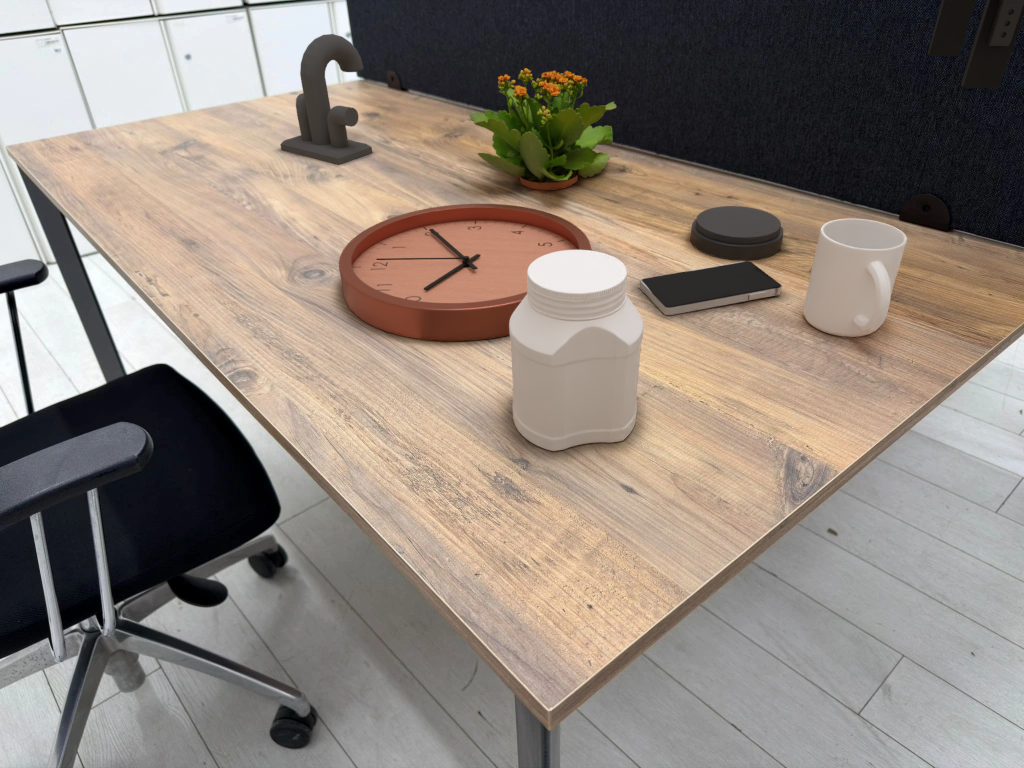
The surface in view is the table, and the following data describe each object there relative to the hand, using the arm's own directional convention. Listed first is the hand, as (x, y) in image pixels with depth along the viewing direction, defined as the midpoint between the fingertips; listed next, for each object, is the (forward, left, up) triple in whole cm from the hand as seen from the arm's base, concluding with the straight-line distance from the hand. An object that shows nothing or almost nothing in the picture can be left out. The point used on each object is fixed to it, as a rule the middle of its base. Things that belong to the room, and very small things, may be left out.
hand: (959, 70), depth 66 cm
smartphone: (+19, -6, -26) cm, 33 cm away
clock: (+49, -8, -26) cm, 56 cm away
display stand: (+14, -21, -26) cm, 36 cm away
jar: (+34, +20, -26) cm, 47 cm away
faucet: (+84, -64, -26) cm, 108 cm away
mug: (+5, +2, -26) cm, 27 cm away
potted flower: (+42, -44, -26) cm, 66 cm away
